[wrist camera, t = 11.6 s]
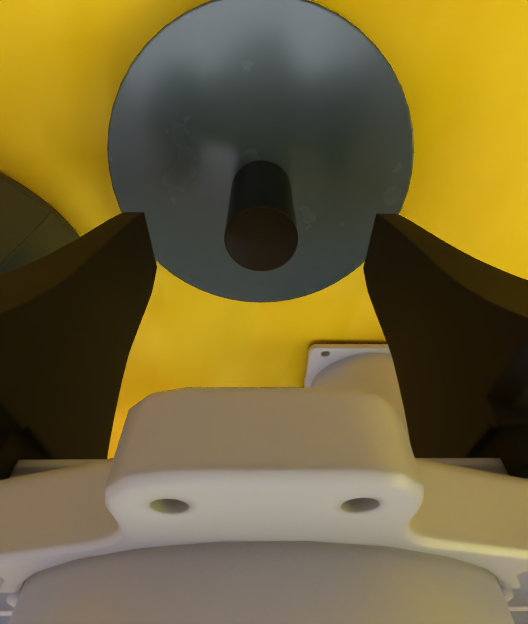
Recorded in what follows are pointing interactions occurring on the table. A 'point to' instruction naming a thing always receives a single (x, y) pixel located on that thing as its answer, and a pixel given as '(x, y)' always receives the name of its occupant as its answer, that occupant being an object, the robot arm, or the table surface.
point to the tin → (28, 227)
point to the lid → (260, 146)
